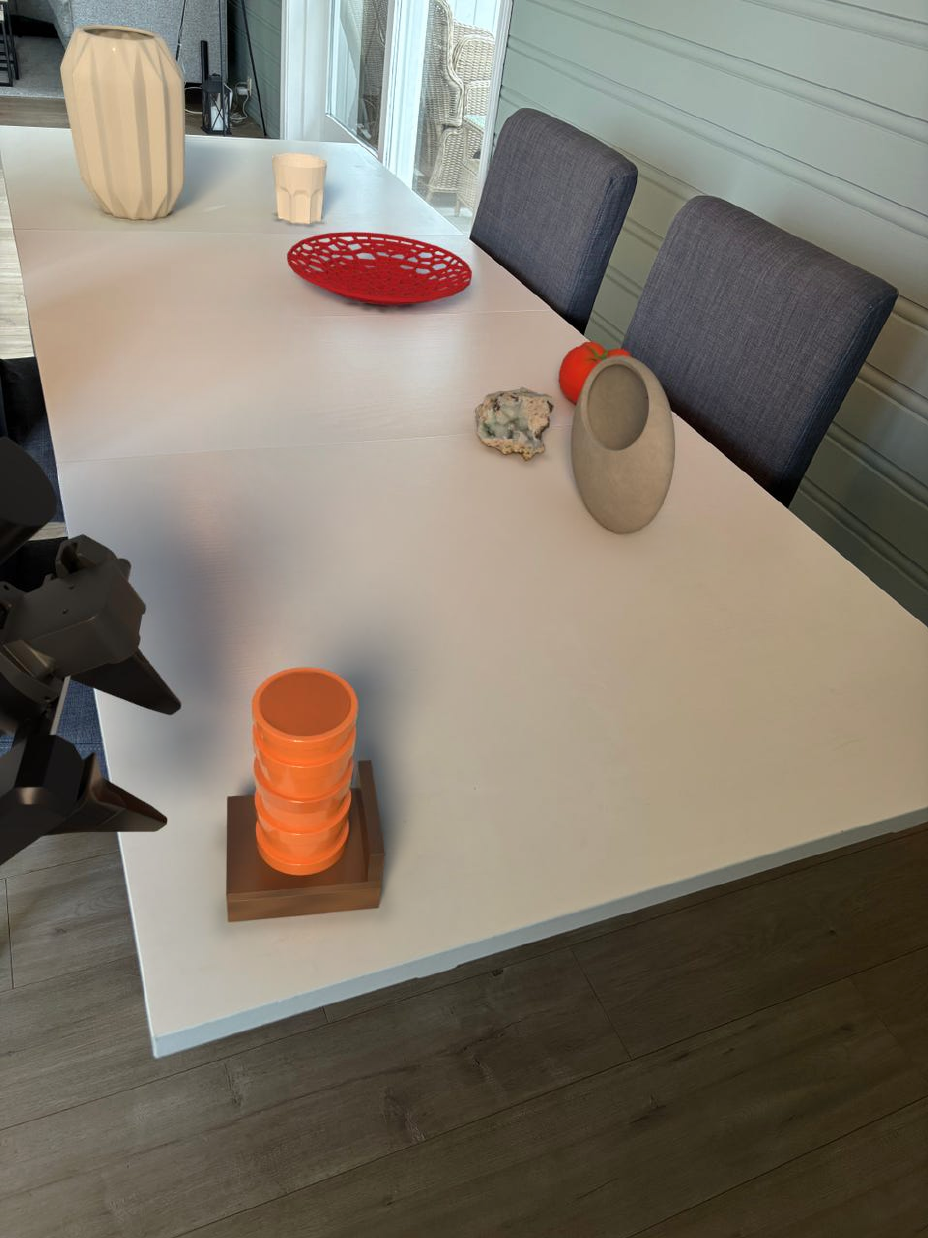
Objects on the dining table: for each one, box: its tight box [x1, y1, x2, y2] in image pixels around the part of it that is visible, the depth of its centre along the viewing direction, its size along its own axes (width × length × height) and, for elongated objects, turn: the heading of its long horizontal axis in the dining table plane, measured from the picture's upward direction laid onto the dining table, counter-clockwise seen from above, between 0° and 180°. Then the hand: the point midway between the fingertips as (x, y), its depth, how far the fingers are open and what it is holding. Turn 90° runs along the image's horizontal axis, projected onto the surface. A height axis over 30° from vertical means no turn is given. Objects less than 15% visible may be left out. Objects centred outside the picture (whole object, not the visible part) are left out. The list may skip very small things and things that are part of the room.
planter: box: [570, 355, 676, 535], centre depth 98 cm, size 18×7×19 cm, turn 20°
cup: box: [271, 152, 328, 225], centre depth 170 cm, size 10×10×10 cm
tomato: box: [558, 341, 632, 405], centre depth 125 cm, size 11×11×8 cm
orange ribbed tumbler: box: [251, 666, 359, 875], centre depth 58 cm, size 6×6×13 cm
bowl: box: [286, 231, 473, 306], centre depth 147 cm, size 29×29×5 cm
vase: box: [59, 24, 186, 221], centre depth 156 cm, size 20×20×28 cm
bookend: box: [225, 759, 386, 923], centre depth 62 cm, size 10×8×6 cm
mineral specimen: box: [474, 386, 556, 461], centre depth 114 cm, size 10×8×10 cm
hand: (170, 764), depth 56 cm, fingers open, 9 cm apart
